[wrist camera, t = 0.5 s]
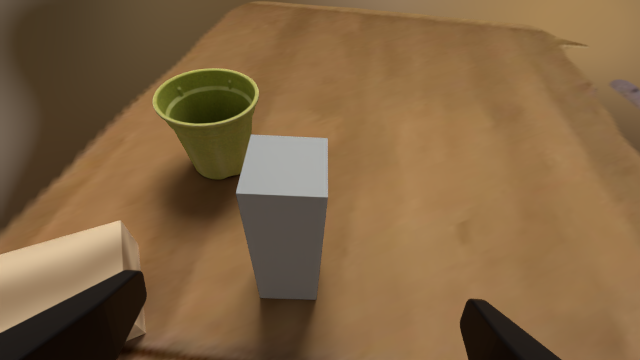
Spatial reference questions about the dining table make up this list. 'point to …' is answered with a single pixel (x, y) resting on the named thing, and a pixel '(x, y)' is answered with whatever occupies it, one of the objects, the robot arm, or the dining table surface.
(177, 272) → the dining table surface
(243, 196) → the slate post
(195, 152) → the plant pot
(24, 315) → the birch base
